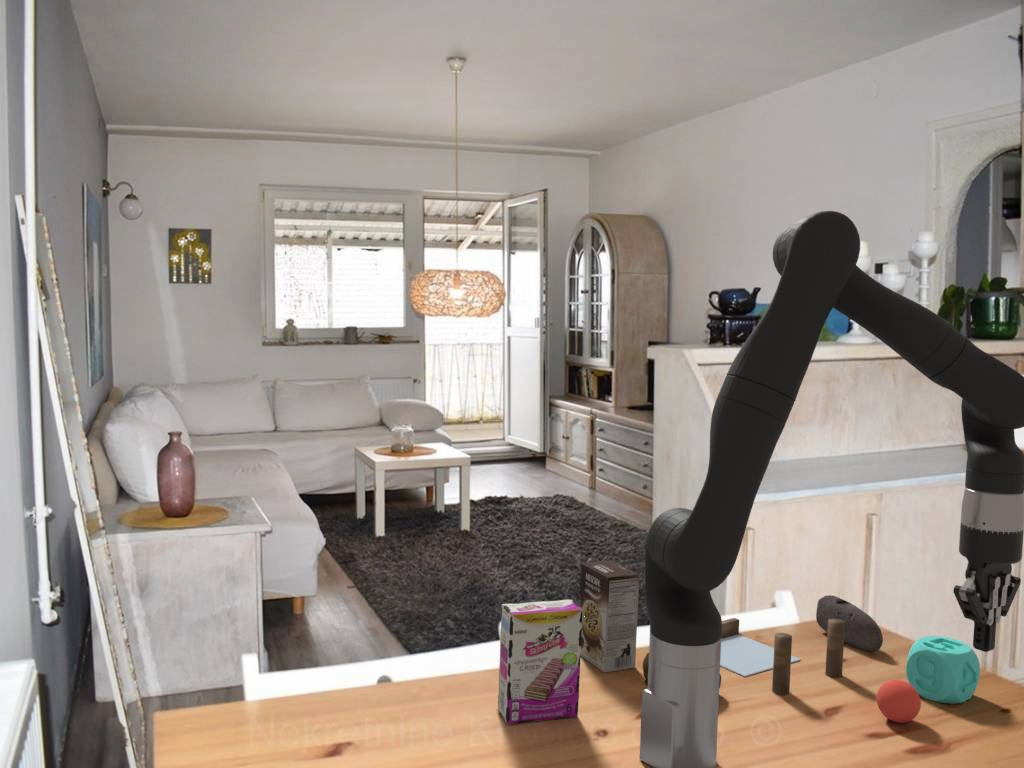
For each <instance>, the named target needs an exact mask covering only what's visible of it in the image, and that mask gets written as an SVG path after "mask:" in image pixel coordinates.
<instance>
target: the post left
mask: <svg viewBox="0 0 1024 768" xmlns="http://www.w3.org/2000/svg"><path fill="white" fill-rule="evenodd" d="M773 645H774V646H773V648H774V662H773V669H772V683H771V684H772V686H771V691H772V693H773V694H775V695H779V696H787V695H790V686H791V684H790V683H791V665H792V663H791V655H792V648H793V647H792V645H793V636H792V635H791V634H788V633H785V632H777V633H774V644H773Z"/></svg>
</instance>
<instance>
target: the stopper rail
mask: <svg viewBox="0 0 1024 768" xmlns="http://www.w3.org/2000/svg"><path fill="white" fill-rule="evenodd" d="M739 633H740V618H739V619H738V618H736V617H733V618H732V617H731V618H729V619H724V620H722V635H721V638H725V637H730V636H734V635H738V634H739ZM724 636H725V637H724Z"/></svg>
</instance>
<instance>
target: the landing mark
mask: <svg viewBox="0 0 1024 768" xmlns="http://www.w3.org/2000/svg"><path fill="white" fill-rule="evenodd" d="M801 659H802V658H799V657H797V656H794V655H792V654H791V664H793V663H797V662H799V661H801ZM773 662H774V647H773V646H772V647H771V646H770V645H767V644H764V643H762V642H759V641H757V640H754V639H751V638H750V637H746V636H744V635H742V634H739V633H737V634H733V635H729V636H725V637H722V638H721V656H720V667H721V666H722V667H721V668H723V667H724V668H723V669H726V670H728V671H731V672H733V673H734V672H735V674H737V675H739V674H740V675H739V676H741V675H742V677H743V676H744V677H743V678H745V677H748V676H749V677H750V676H752V675H755V674H759V673H762V672H767V671H769V670H773Z"/></svg>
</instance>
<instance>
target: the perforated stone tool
mask: <svg viewBox="0 0 1024 768" xmlns="http://www.w3.org/2000/svg"><path fill="white" fill-rule="evenodd" d="M815 619H816V623H817V625H818V626H819V627H820V629H822V630H823V631H825V632H826V634H828V620H829V619H839V620H843V621H844V622H845V631H844V644H845V643H846V644H848V645H851V646H852V647H854V648H855V647H856V648H857V649H859V650H860V649H861V650H863V651H868V652H876V651H878V650H879V649H881V648H882V646H883V643H884V638H883V633H882V630H881V628H880V626H879V625H878V623H877V622H876V621H875V620H874V618H873V617H872V616H870V615H869V614H867V612H866V611H863V610H862V609H860V608H859V607H858V606H856V605H855V604H853V603H851V602H849V601H847V600H845V599H843V598H840V597H839V596H835V595H824V596H823V597H821V598H819V599H818V600H817V607H816V612H815Z"/></svg>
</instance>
